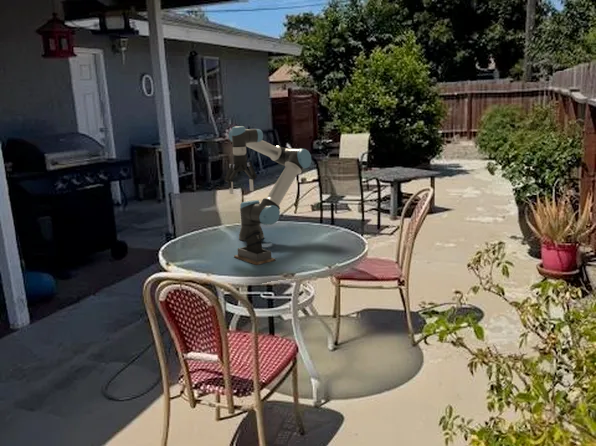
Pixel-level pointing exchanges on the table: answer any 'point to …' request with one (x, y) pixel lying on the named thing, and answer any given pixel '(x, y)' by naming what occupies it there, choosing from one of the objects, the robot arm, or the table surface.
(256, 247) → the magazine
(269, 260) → the board
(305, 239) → the table surface
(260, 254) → the cradle
